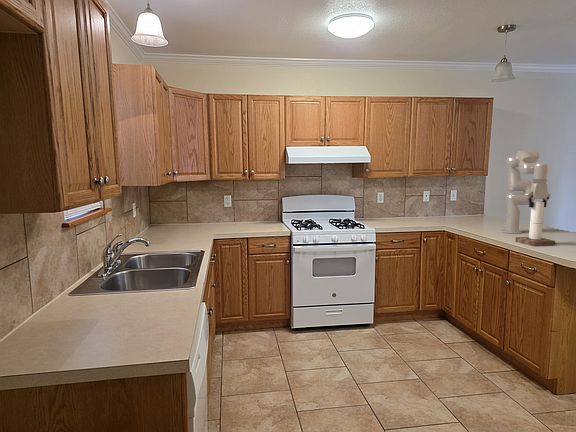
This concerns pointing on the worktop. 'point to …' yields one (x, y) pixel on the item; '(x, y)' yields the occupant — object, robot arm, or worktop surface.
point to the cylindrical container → (536, 220)
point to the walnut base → (535, 241)
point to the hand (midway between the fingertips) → (537, 207)
